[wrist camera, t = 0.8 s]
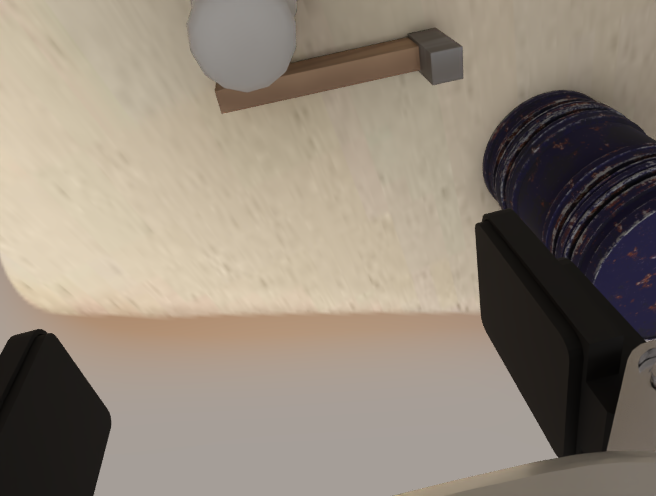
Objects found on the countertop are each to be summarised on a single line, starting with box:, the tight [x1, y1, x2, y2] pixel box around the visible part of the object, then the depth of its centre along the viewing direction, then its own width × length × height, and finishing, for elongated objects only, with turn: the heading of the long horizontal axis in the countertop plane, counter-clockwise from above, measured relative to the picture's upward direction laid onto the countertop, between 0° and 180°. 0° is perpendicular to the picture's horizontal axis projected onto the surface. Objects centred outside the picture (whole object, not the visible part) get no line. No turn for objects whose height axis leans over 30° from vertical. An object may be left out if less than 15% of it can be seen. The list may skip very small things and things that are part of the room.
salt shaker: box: [187, 0, 297, 92], centre depth 25 cm, size 6×6×13 cm
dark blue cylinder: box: [483, 90, 656, 340], centre depth 33 cm, size 10×10×15 cm
